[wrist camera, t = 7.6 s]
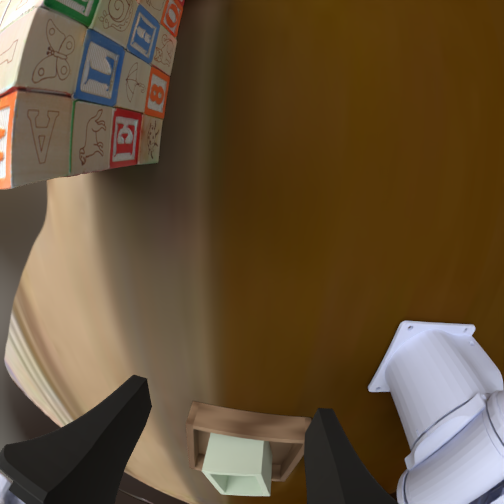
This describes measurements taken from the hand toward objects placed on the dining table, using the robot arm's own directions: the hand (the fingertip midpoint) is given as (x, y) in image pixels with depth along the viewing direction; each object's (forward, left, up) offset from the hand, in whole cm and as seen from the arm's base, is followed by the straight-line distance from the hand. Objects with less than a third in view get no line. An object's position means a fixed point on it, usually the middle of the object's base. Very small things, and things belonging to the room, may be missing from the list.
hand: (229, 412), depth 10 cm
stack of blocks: (+11, -19, -10) cm, 24 cm away
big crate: (-2, +19, -10) cm, 22 cm away
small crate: (-2, +19, -9) cm, 21 cm away
